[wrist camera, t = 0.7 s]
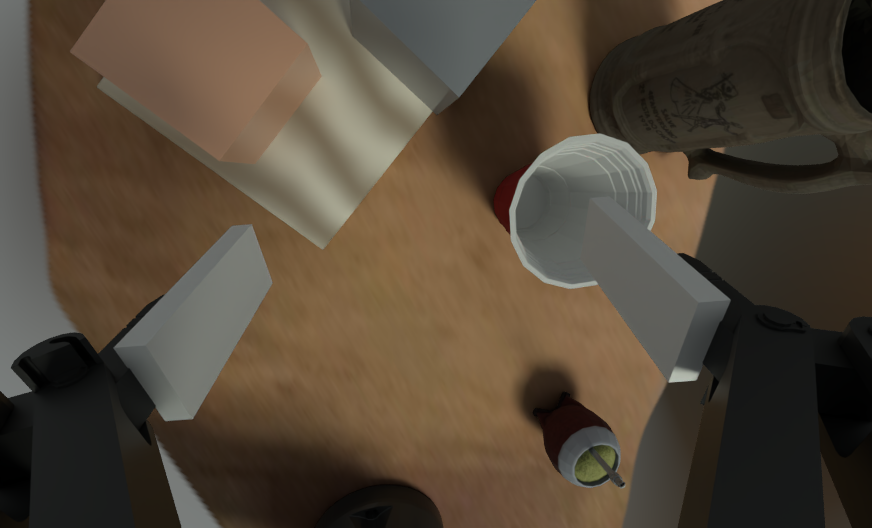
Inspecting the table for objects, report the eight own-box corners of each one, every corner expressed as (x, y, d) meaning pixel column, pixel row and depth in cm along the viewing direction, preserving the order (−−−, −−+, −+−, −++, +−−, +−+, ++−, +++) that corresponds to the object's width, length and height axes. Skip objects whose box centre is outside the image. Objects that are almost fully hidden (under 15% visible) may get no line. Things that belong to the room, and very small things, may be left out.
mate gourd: (571, 444, 46) (666, 569, 31) (513, 435, 44) (586, 564, 29) (593, 390, 44) (704, 494, 30) (535, 378, 42) (622, 483, 28)
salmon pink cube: (255, 164, 31) (219, 161, 23) (148, 84, 28) (69, 51, 21) (321, 76, 30) (307, 43, 23) (219, -14, 28) (164, -85, 20)
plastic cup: (443, 197, 36) (480, 209, 24) (528, 121, 36) (607, 96, 24) (509, 277, 39) (570, 321, 27) (588, 207, 39) (683, 222, 27)
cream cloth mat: (324, 247, 35) (323, 249, 34) (107, 90, 29) (96, 86, 28) (520, -1, 33) (525, -7, 32) (329, -221, 27) (328, -238, 26)
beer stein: (563, 83, 35) (808, 7, 17) (648, 3, 35) (996, -167, 16) (637, 204, 41) (884, 248, 22) (711, 135, 40) (1026, 121, 22)
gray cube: (436, 115, 33) (459, 97, 25) (352, 36, 30) (348, -11, 22) (503, 31, 32) (546, -14, 24) (423, -57, 30) (443, -138, 22)
